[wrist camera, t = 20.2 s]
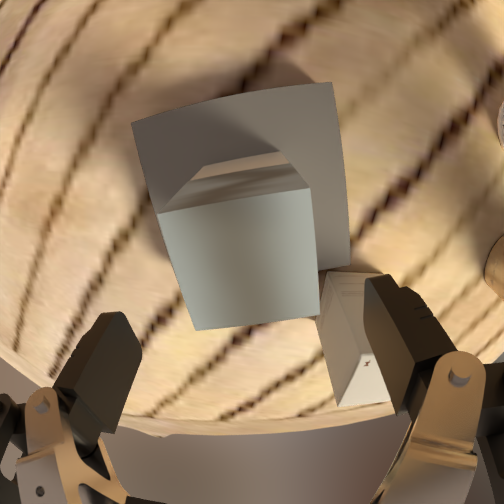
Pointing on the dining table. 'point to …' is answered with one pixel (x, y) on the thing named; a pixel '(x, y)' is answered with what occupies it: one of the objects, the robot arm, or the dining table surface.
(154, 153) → the plinth
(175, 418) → the dining table surface
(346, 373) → the supplement box
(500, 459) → the robot arm
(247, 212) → the grey cube
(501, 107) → the decorative candle
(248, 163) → the white cube
